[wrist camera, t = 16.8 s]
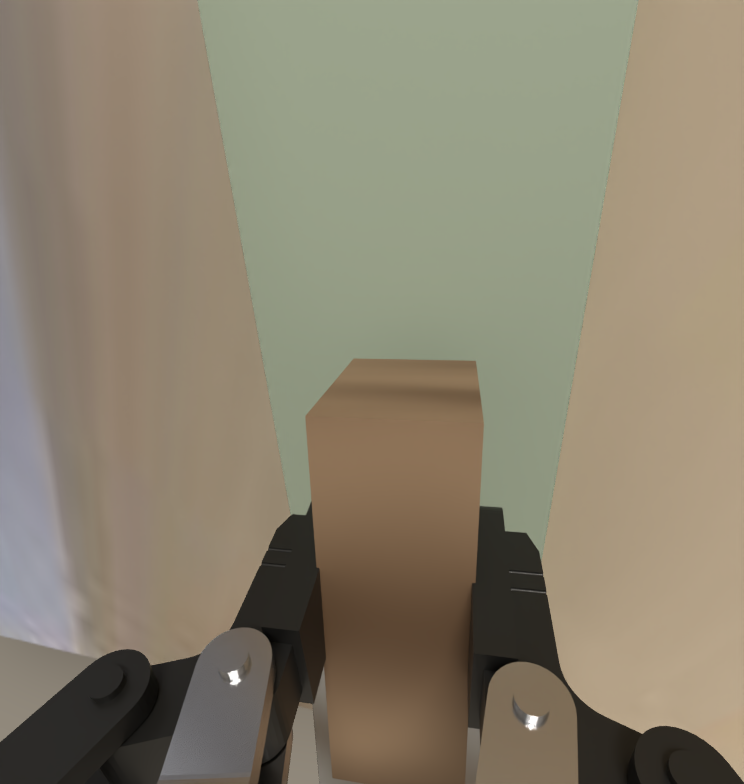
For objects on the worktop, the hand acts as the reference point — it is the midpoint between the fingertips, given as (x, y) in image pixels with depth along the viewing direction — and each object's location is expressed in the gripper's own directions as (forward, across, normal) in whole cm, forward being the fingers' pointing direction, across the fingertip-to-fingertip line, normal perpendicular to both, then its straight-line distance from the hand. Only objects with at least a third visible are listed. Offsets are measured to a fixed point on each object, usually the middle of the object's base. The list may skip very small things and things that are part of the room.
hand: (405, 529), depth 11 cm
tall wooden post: (+1, 0, +4) cm, 4 cm away
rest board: (+5, 0, 0) cm, 5 cm away
